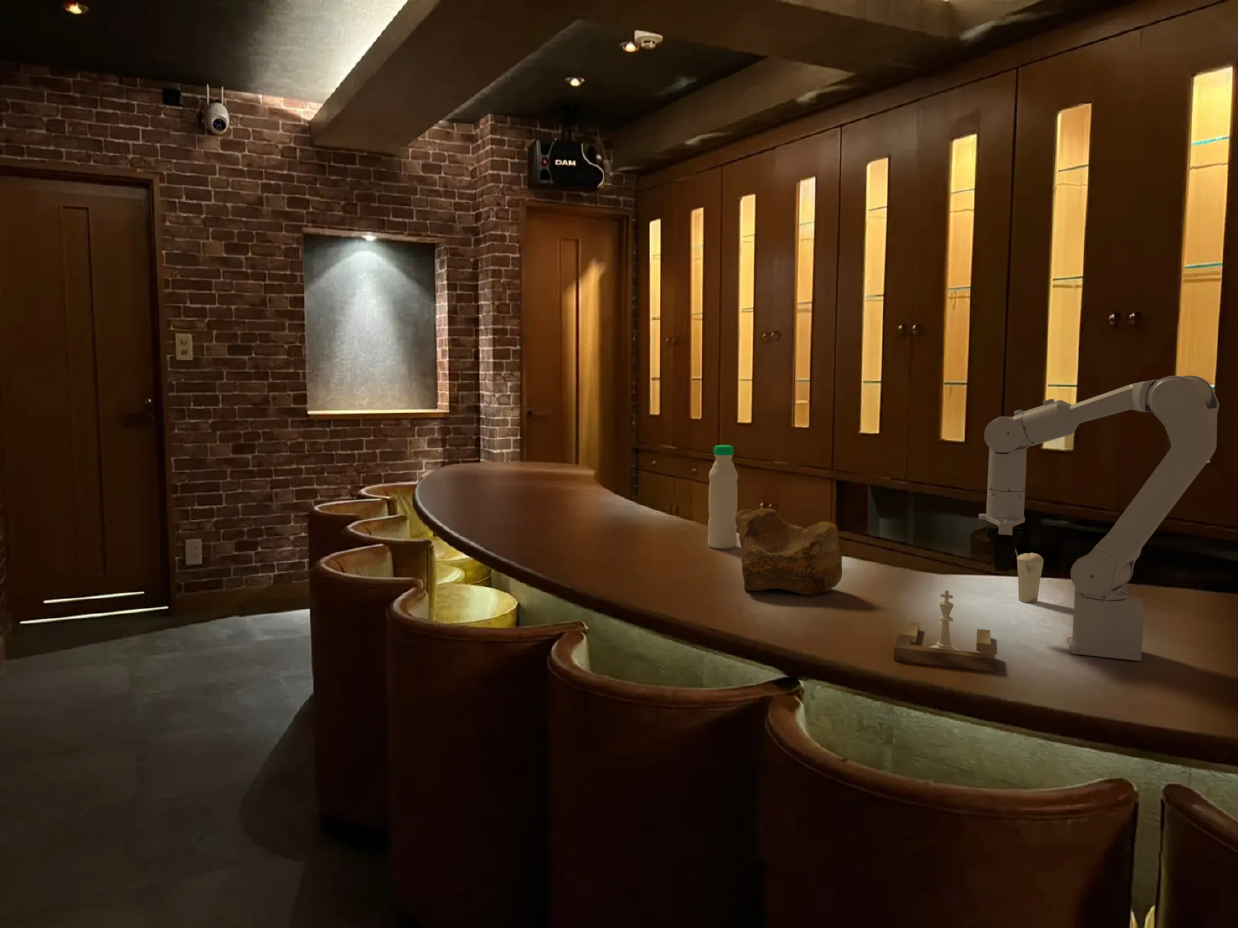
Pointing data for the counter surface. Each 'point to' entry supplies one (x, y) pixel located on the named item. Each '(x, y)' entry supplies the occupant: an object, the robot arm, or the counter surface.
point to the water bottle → (722, 500)
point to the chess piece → (945, 623)
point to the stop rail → (945, 655)
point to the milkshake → (1029, 576)
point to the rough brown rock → (787, 553)
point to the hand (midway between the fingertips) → (1002, 570)
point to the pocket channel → (913, 630)
